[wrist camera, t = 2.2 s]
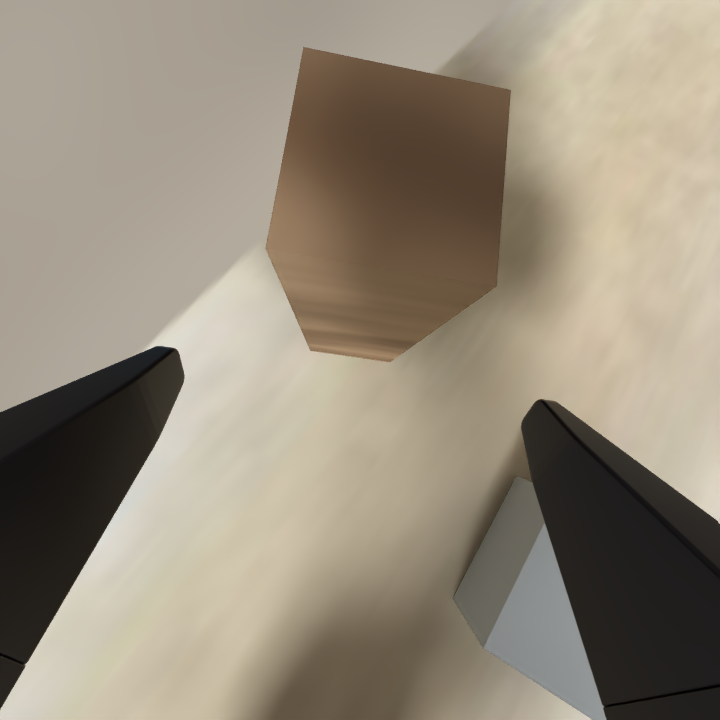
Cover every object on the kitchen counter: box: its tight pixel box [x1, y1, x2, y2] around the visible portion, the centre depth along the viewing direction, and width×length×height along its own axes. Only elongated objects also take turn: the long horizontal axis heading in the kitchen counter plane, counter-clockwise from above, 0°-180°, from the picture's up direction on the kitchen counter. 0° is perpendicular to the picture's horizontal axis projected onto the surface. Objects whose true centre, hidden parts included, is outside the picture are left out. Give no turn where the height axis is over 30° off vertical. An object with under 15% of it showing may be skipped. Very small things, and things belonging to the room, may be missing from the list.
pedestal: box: [453, 476, 606, 720], centre depth 17 cm, size 8×8×4 cm
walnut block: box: [266, 47, 511, 362], centre depth 13 cm, size 5×5×13 cm
